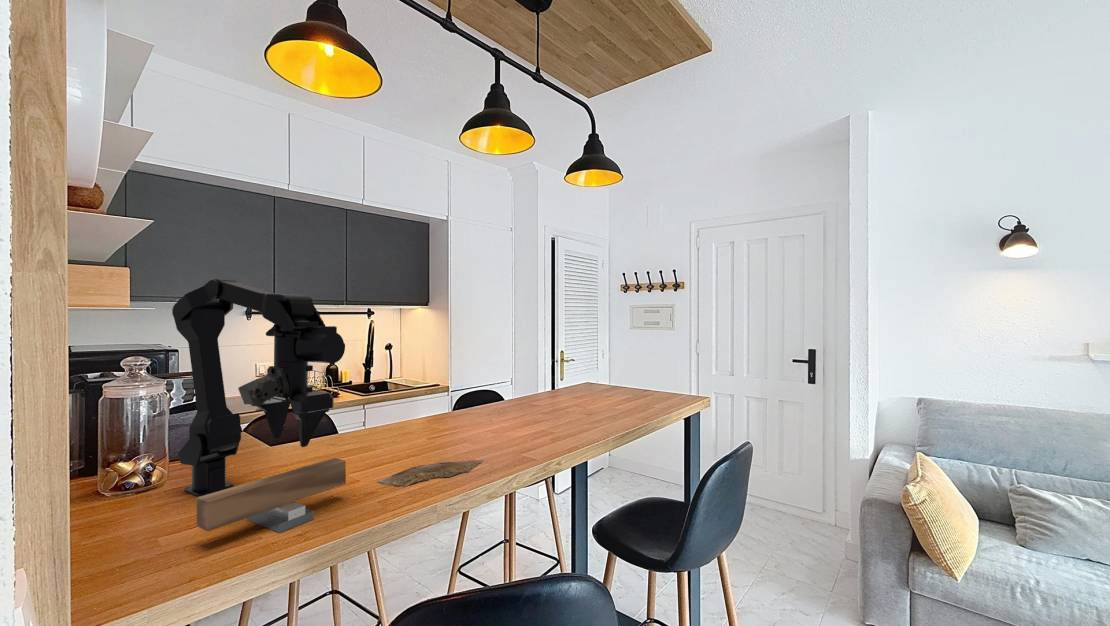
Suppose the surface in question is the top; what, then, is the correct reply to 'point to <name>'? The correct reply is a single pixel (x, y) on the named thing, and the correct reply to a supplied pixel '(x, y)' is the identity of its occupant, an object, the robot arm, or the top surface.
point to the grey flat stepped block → (283, 517)
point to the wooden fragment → (428, 472)
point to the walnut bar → (268, 493)
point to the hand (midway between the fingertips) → (290, 442)
